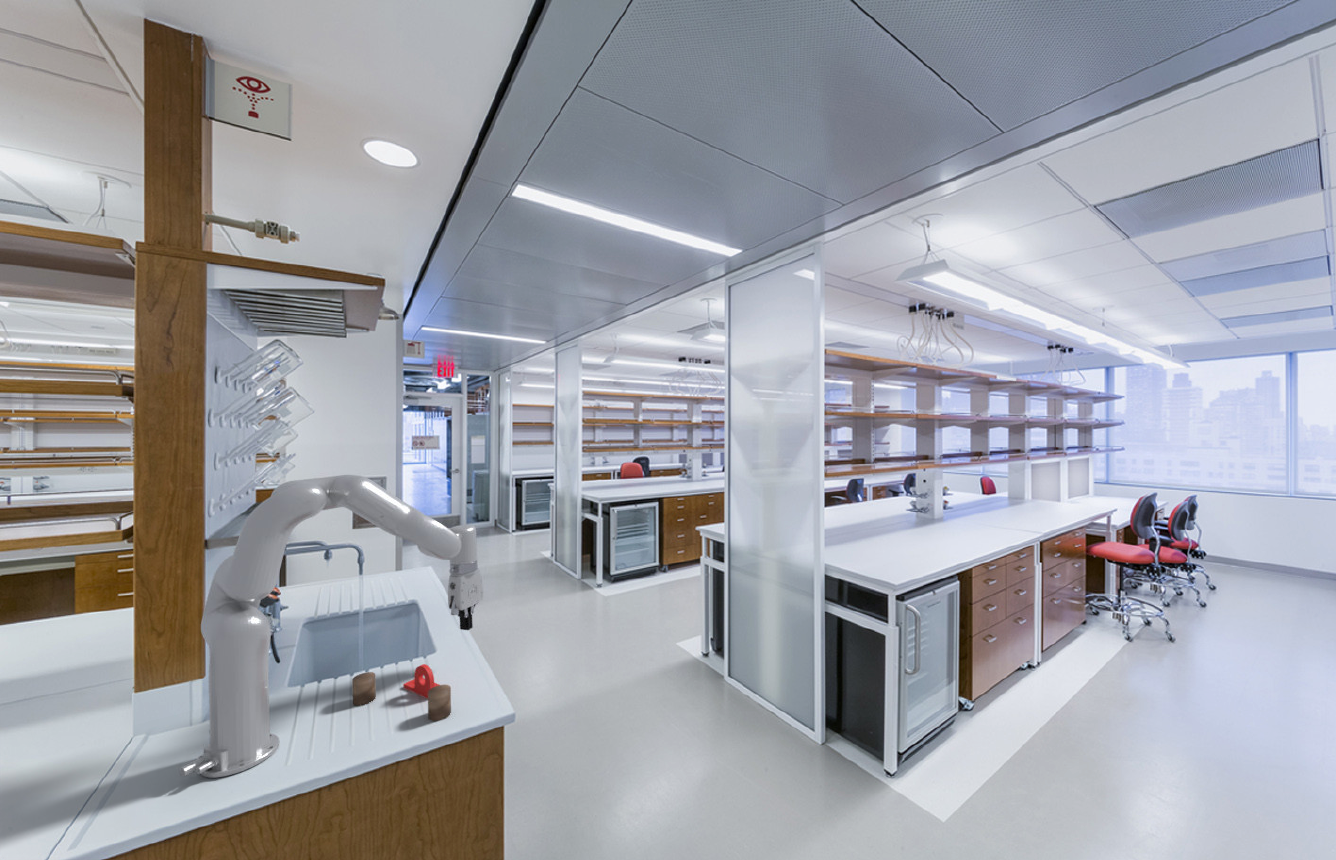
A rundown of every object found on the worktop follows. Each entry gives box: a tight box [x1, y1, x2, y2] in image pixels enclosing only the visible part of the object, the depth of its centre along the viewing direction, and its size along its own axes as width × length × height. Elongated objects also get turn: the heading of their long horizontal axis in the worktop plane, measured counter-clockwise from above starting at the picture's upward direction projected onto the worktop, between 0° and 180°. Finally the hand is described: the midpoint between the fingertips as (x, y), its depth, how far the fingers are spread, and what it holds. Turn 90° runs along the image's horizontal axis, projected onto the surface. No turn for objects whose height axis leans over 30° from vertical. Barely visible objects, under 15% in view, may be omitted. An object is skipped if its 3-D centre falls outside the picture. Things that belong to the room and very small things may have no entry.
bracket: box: [402, 663, 440, 699], centre depth 128 cm, size 12×4×8 cm, turn 59°
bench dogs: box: [351, 671, 452, 722], centre depth 119 cm, size 5×29×6 cm, turn 73°
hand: (466, 628), depth 142 cm, fingers closed
